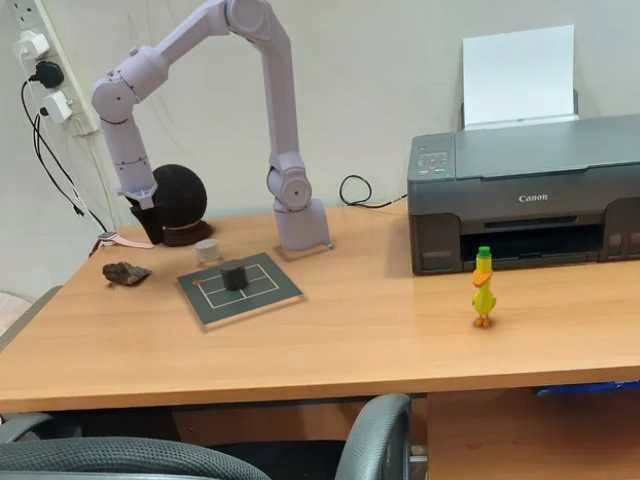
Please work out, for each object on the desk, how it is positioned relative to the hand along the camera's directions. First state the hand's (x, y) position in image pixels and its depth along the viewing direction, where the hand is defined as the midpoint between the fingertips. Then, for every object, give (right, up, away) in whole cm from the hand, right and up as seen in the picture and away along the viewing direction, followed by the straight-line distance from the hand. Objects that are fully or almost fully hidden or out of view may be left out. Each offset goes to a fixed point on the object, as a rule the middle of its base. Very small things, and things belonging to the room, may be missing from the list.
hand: (155, 236), depth 120 cm
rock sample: (-8, -6, +10) cm, 14 cm away
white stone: (+7, -2, +12) cm, 14 cm away
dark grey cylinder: (+15, -9, 0) cm, 17 cm away
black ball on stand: (-1, +8, +25) cm, 26 cm away
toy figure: (+56, -19, -18) cm, 62 cm away
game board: (+15, -10, +1) cm, 18 cm away
